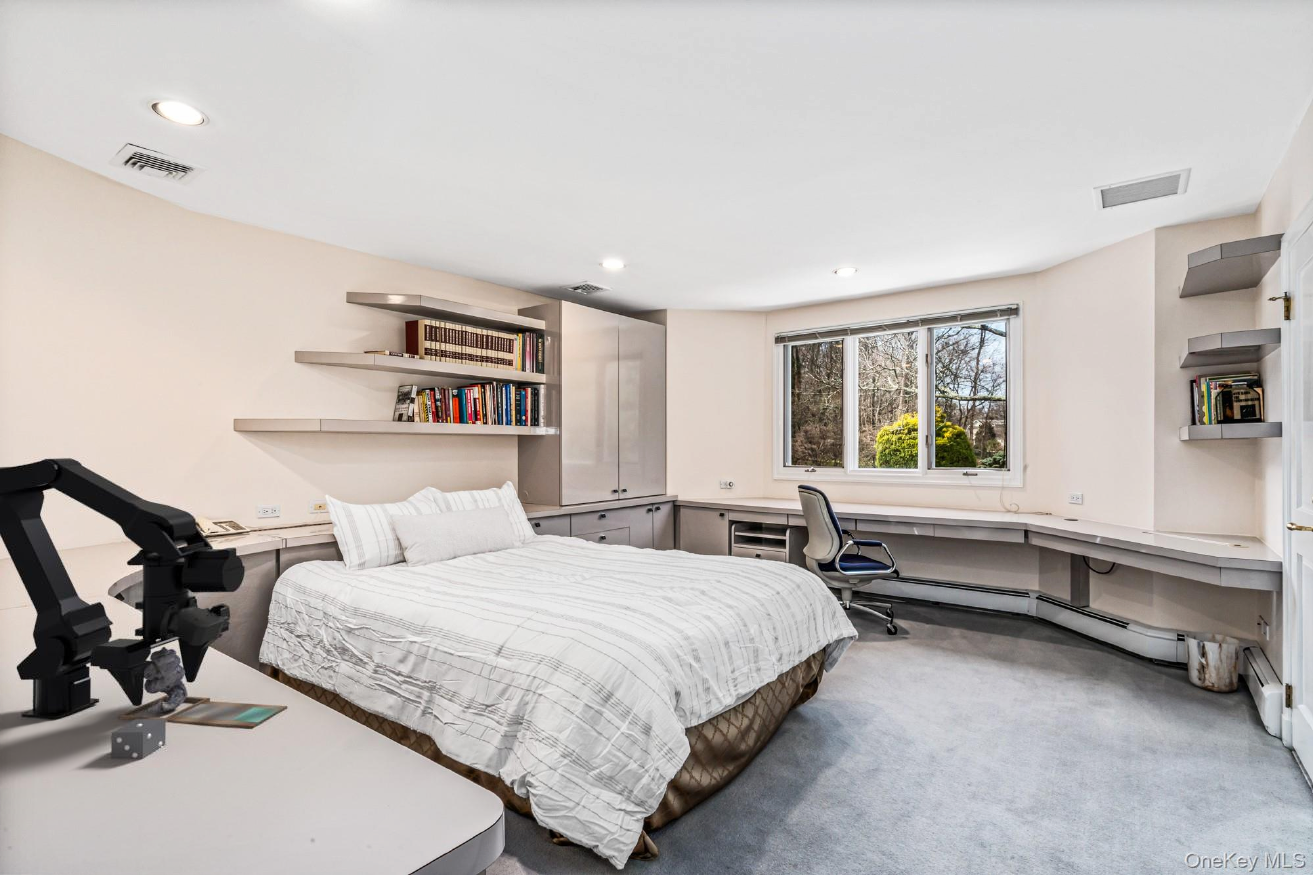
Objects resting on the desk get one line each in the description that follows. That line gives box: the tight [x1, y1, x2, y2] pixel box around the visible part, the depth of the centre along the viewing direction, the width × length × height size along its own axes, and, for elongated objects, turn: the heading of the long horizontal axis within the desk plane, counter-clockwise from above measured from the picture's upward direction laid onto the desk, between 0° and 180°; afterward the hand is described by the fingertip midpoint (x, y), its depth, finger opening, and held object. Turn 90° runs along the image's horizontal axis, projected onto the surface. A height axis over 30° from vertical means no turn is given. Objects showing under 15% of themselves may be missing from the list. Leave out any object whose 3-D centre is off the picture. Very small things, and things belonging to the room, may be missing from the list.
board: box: [167, 700, 288, 729], centre depth 97 cm, size 15×7×1 cm, turn 82°
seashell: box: [143, 646, 189, 714], centre depth 98 cm, size 5×5×10 cm
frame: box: [117, 694, 211, 723], centre depth 98 cm, size 8×8×1 cm
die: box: [110, 719, 167, 760], centre depth 85 cm, size 4×4×4 cm
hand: (165, 693), depth 98 cm, fingers open, 9 cm apart
